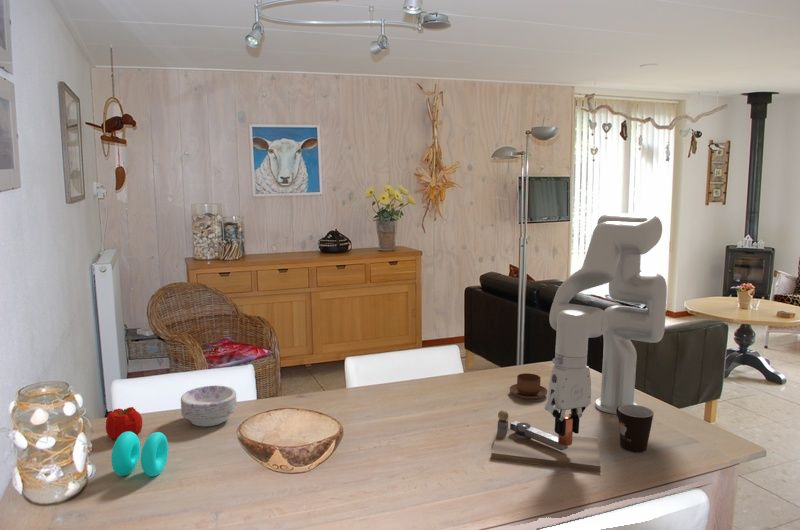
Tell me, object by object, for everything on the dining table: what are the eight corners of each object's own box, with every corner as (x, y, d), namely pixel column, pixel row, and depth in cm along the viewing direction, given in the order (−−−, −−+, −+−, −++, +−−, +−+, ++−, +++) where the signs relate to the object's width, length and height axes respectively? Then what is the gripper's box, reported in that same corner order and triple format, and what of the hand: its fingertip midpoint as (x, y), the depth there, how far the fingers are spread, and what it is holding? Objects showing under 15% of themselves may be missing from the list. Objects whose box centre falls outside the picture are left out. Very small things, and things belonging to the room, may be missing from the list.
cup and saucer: (508, 387, 203) (509, 370, 202) (545, 389, 201) (546, 372, 200) (510, 401, 191) (510, 382, 190) (549, 403, 190) (549, 384, 189)
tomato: (148, 436, 164) (146, 410, 163) (114, 447, 157) (112, 420, 156) (133, 426, 170) (131, 401, 169) (100, 436, 164) (98, 410, 163)
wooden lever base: (498, 431, 168) (499, 406, 167) (596, 443, 161) (598, 416, 160) (491, 458, 152) (492, 430, 151) (600, 472, 145) (601, 443, 144)
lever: (508, 429, 163) (509, 400, 162) (517, 426, 165) (518, 396, 164) (566, 453, 149) (567, 421, 148) (574, 449, 151) (576, 417, 150)
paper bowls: (195, 436, 164) (193, 408, 163) (173, 419, 176) (172, 392, 174) (246, 421, 174) (245, 395, 173) (223, 406, 186) (222, 381, 184)
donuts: (130, 463, 149) (128, 424, 148) (171, 463, 149) (169, 425, 147) (110, 483, 139) (107, 442, 138) (153, 484, 139) (151, 443, 137)
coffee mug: (654, 456, 154) (656, 418, 152) (618, 452, 156) (620, 415, 154) (645, 436, 165) (647, 401, 164) (612, 434, 167) (614, 399, 165)
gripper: (553, 368, 141) (549, 444, 144) (607, 361, 149) (602, 433, 151) (533, 360, 148) (529, 432, 150) (586, 353, 155) (581, 422, 158)
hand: (566, 432), depth 151 cm, fingers open, 3 cm apart
